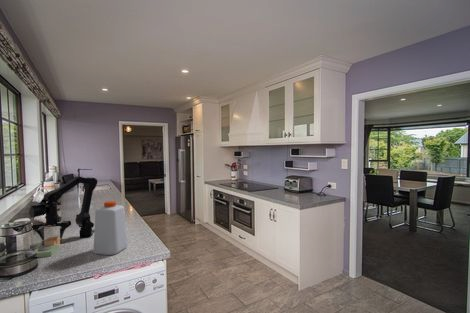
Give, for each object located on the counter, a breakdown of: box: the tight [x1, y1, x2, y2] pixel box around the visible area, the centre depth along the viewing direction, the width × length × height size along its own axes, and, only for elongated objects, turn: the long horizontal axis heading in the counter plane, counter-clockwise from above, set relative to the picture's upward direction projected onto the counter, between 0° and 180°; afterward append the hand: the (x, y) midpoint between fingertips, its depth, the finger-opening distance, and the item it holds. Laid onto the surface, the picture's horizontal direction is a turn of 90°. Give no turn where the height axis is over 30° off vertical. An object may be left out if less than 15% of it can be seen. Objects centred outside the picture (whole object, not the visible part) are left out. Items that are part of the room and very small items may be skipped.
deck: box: [33, 238, 66, 258], centre depth 148 cm, size 13×21×3 cm, turn 15°
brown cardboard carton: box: [43, 234, 61, 246], centre depth 152 cm, size 5×8×6 cm, turn 15°
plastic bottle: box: [93, 200, 129, 256], centre depth 147 cm, size 15×15×28 cm
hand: (52, 239), depth 152 cm, fingers open, 9 cm apart
